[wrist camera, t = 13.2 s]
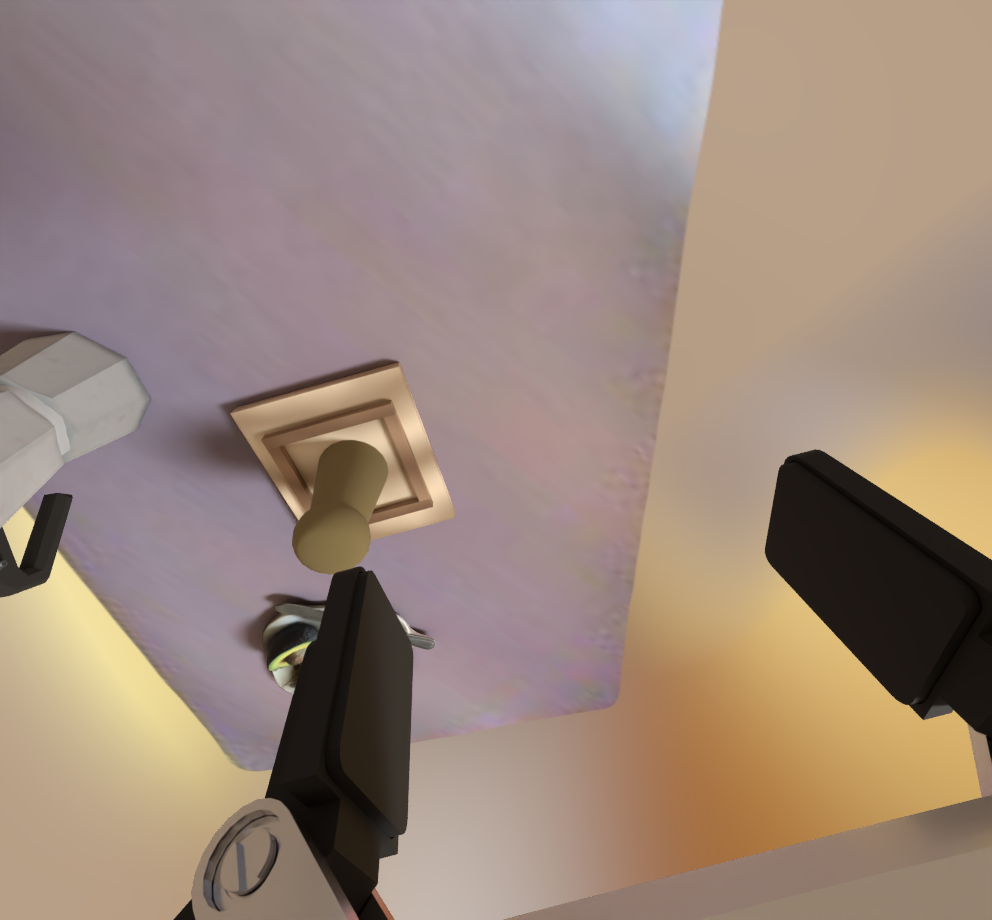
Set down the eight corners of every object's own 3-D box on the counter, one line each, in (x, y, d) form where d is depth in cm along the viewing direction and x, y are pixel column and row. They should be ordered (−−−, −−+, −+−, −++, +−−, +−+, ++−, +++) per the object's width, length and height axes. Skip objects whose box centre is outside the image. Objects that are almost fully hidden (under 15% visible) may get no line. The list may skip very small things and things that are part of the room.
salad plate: (436, 584, 49) (436, 618, 45) (434, 678, 58) (435, 712, 54) (255, 591, 46) (238, 627, 42) (283, 689, 55) (271, 726, 51)
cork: (302, 459, 37) (258, 545, 28) (361, 428, 36) (336, 505, 27) (346, 507, 40) (319, 599, 31) (401, 479, 39) (391, 564, 30)
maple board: (236, 407, 35) (226, 418, 34) (399, 361, 35) (397, 370, 33) (322, 545, 44) (318, 559, 42) (454, 509, 44) (455, 522, 42)
